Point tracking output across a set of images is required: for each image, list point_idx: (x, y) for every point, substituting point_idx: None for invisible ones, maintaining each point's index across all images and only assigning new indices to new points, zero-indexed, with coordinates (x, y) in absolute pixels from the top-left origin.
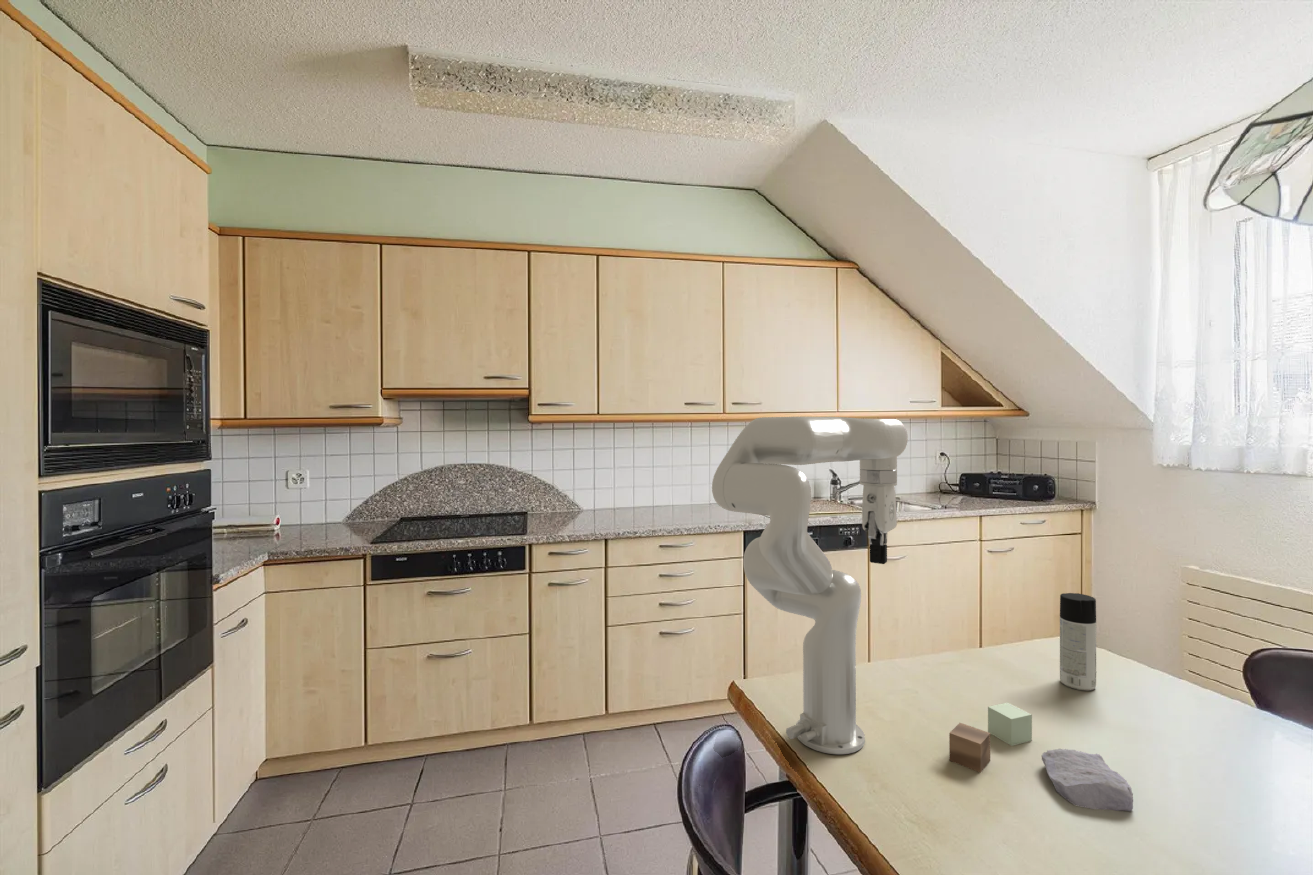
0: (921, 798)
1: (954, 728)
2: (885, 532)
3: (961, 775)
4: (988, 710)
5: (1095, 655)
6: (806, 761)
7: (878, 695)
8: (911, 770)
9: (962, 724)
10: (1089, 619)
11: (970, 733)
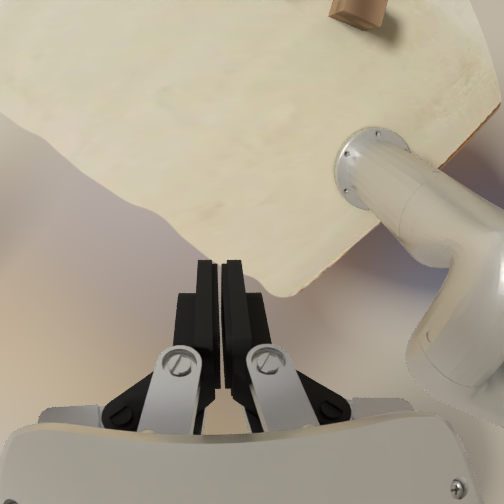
0: (440, 68)
1: (364, 19)
2: (415, 412)
3: (387, 22)
4: None
5: None
6: None
7: (215, 136)
8: (402, 73)
9: (347, 7)
10: None
11: (367, 1)
